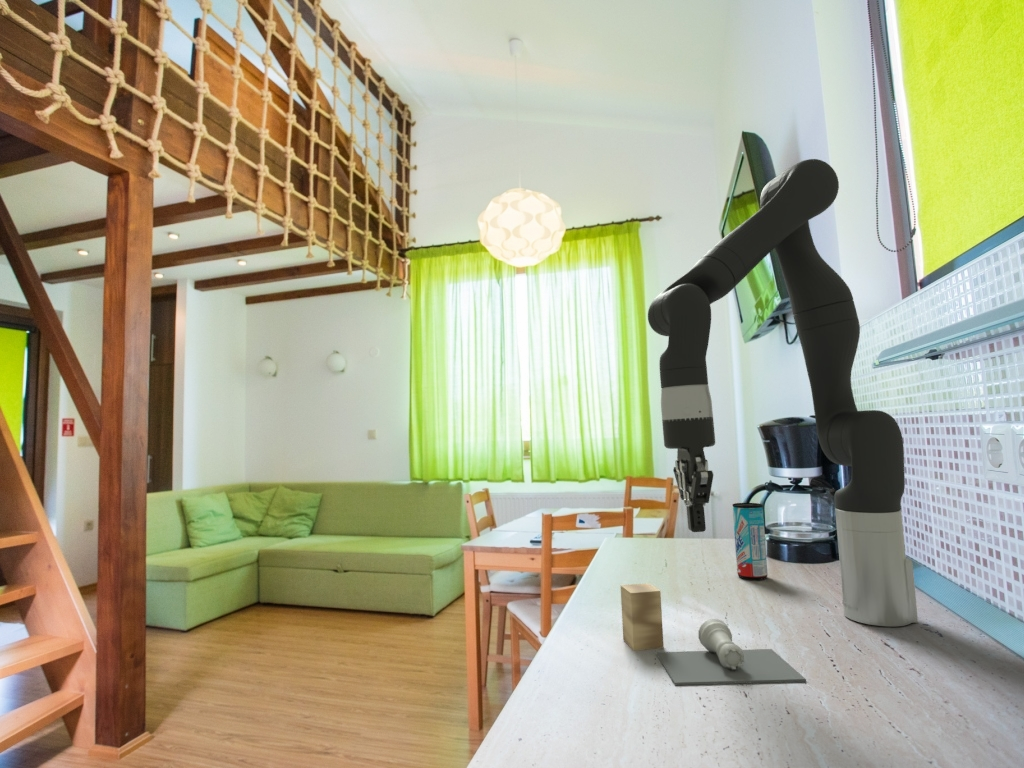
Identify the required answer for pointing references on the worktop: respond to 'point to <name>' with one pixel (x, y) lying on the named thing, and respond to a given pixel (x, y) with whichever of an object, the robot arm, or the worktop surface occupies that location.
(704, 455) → the robot arm
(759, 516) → the beverage can
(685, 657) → the mat
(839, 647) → the worktop surface
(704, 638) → the rook chess piece
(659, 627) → the oak block
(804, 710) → the worktop surface
